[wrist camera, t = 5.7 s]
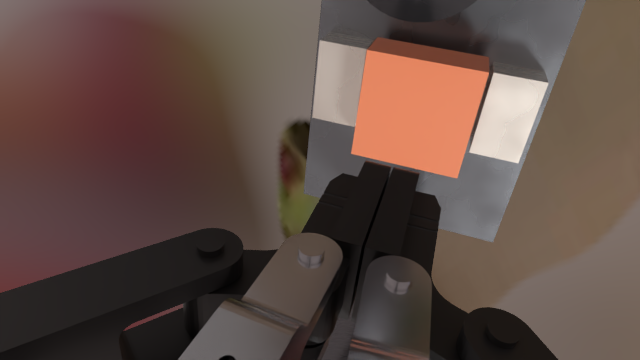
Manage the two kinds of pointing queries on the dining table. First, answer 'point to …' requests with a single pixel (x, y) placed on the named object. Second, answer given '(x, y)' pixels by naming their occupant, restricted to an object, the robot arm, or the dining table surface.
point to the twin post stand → (492, 116)
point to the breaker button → (418, 105)
